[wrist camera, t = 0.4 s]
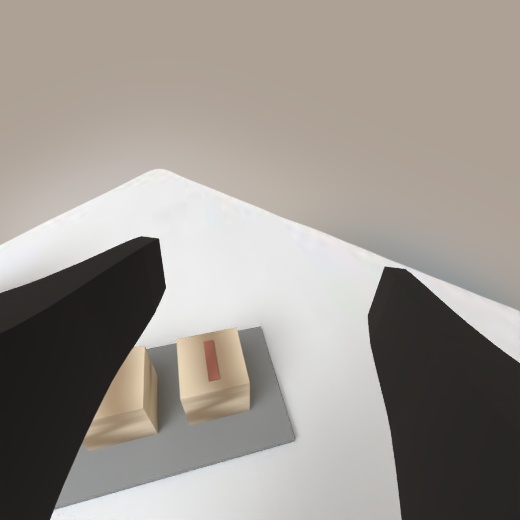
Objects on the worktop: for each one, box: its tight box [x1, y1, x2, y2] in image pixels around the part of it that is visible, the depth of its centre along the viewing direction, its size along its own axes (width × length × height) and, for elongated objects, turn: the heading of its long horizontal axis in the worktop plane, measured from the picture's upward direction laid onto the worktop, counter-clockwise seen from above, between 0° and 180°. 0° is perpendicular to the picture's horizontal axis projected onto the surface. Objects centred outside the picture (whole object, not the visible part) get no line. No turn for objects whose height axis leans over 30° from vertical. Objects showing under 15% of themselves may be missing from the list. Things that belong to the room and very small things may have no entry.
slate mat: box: [54, 327, 295, 510], centre depth 26 cm, size 26×11×1 cm, turn 104°
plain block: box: [82, 346, 158, 451], centre depth 24 cm, size 5×5×5 cm
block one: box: [177, 327, 250, 426], centre depth 25 cm, size 5×5×5 cm
